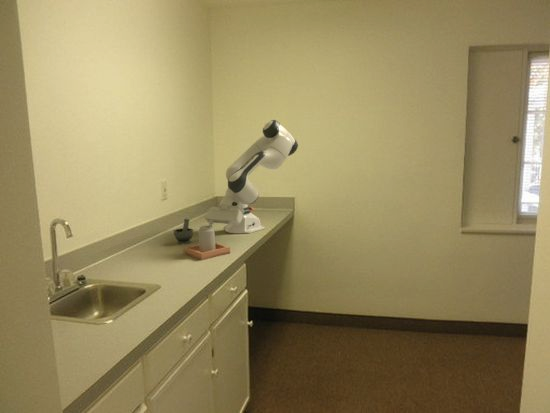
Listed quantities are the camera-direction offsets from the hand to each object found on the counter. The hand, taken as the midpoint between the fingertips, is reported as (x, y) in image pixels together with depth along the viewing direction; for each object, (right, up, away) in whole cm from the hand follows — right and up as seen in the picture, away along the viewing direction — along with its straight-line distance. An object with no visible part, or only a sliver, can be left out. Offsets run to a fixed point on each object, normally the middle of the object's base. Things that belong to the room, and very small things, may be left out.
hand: (217, 229), depth 203 cm
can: (-4, -10, -7) cm, 13 cm away
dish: (-4, -11, -7) cm, 13 cm away
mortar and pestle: (-20, -8, +17) cm, 27 cm away
